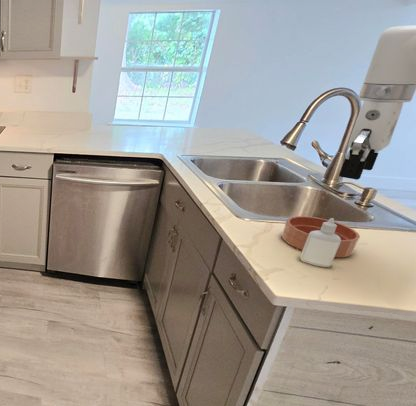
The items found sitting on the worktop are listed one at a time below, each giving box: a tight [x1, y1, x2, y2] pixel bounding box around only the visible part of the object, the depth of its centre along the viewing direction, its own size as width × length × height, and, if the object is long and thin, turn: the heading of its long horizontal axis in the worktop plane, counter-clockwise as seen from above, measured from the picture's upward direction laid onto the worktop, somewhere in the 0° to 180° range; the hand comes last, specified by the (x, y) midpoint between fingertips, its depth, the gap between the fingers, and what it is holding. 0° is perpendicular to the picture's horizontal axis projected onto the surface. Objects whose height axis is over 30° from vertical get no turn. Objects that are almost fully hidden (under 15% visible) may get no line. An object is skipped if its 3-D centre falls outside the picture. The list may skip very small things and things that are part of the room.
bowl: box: [281, 215, 361, 258], centre depth 96 cm, size 14×14×5 cm
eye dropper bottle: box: [299, 217, 341, 268], centre depth 87 cm, size 4×6×12 cm
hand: (355, 173), depth 80 cm, fingers open, 9 cm apart
